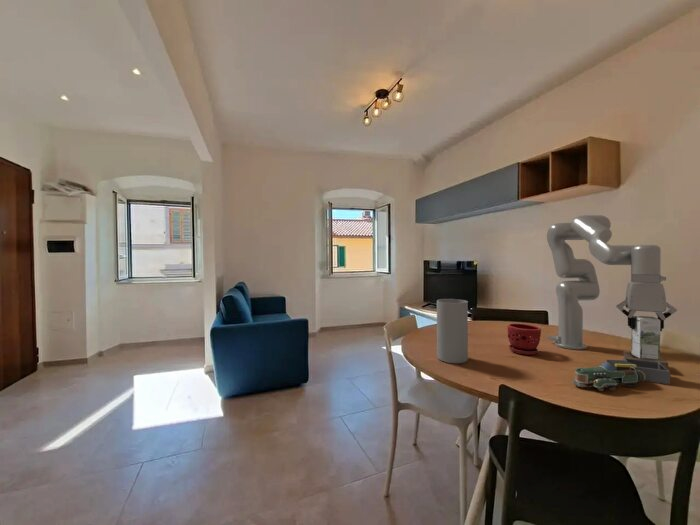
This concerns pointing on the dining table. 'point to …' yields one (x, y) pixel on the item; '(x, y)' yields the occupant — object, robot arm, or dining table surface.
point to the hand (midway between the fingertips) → (645, 328)
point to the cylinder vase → (452, 330)
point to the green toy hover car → (607, 376)
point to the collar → (631, 356)
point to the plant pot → (524, 338)
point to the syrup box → (646, 338)
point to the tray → (652, 370)
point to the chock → (621, 365)
